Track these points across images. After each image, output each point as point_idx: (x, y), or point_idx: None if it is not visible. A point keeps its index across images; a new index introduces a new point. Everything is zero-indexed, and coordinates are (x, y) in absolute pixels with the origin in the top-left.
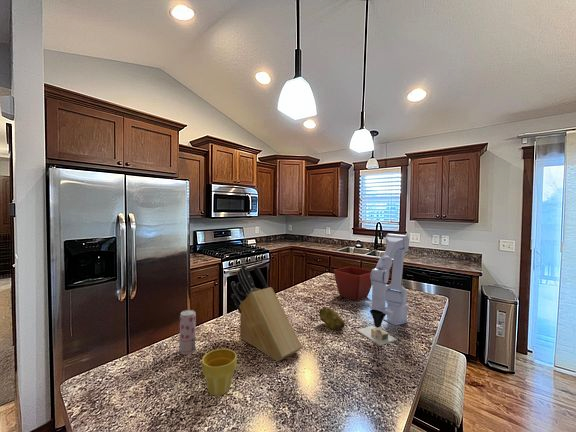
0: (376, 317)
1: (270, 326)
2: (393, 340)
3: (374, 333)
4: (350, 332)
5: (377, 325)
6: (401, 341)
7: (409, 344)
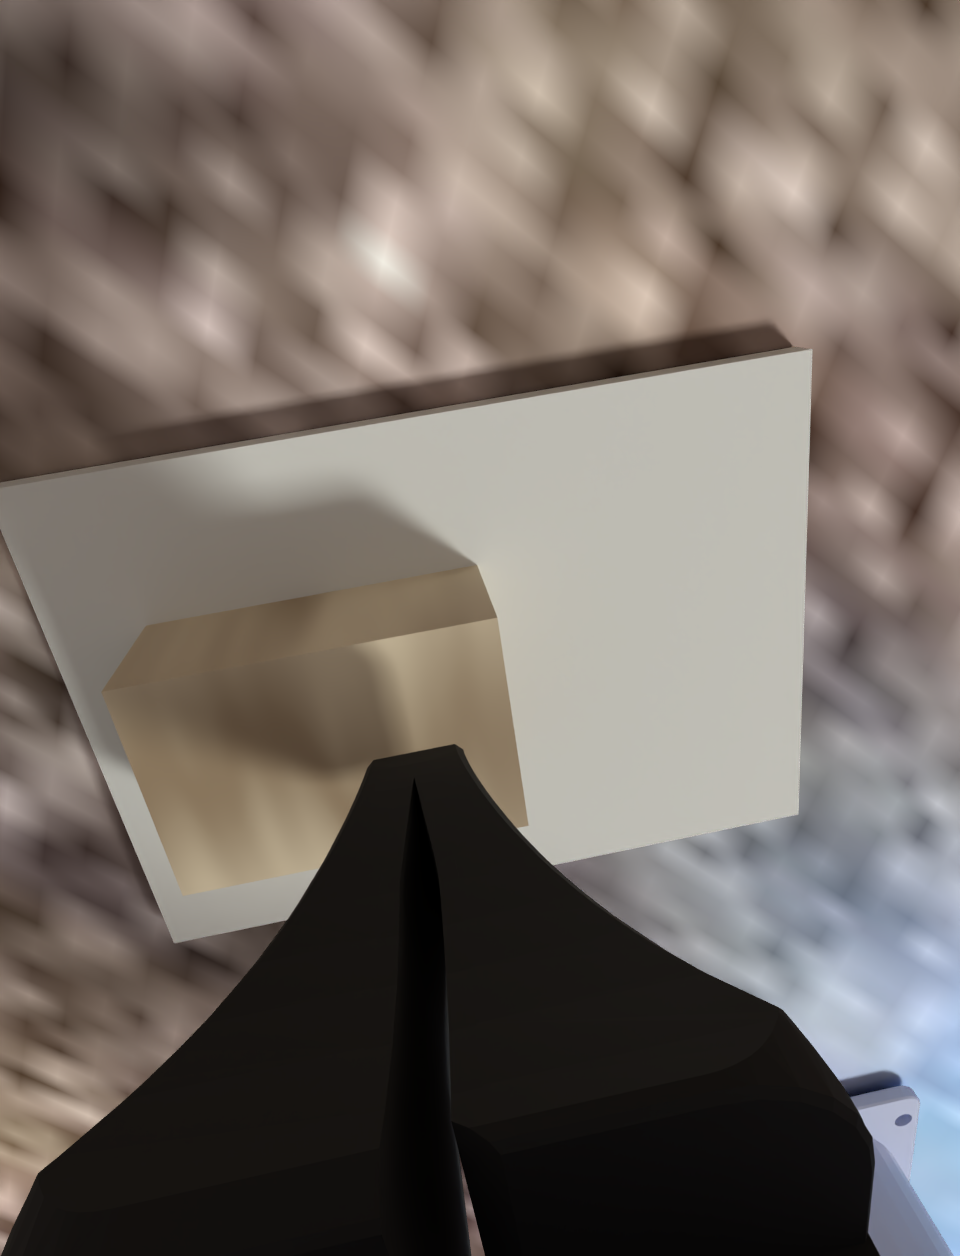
0: (302, 996)
1: None
2: (146, 865)
3: (372, 613)
4: (804, 123)
5: (355, 803)
6: (136, 974)
7: (14, 1033)
